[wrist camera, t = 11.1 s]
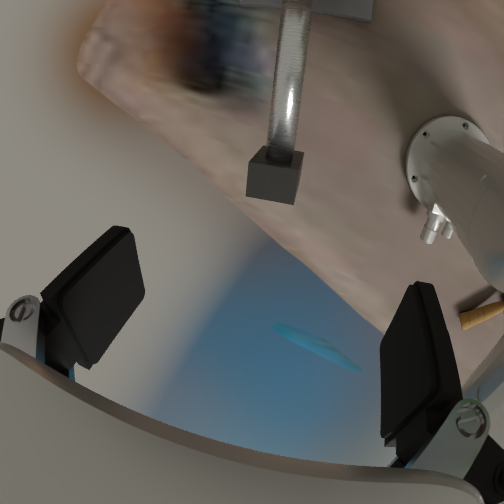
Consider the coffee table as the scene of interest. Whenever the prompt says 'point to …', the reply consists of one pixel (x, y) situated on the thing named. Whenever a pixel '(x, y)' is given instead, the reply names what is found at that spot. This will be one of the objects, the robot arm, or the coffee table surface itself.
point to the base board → (325, 7)
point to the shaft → (283, 111)
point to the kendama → (480, 314)
